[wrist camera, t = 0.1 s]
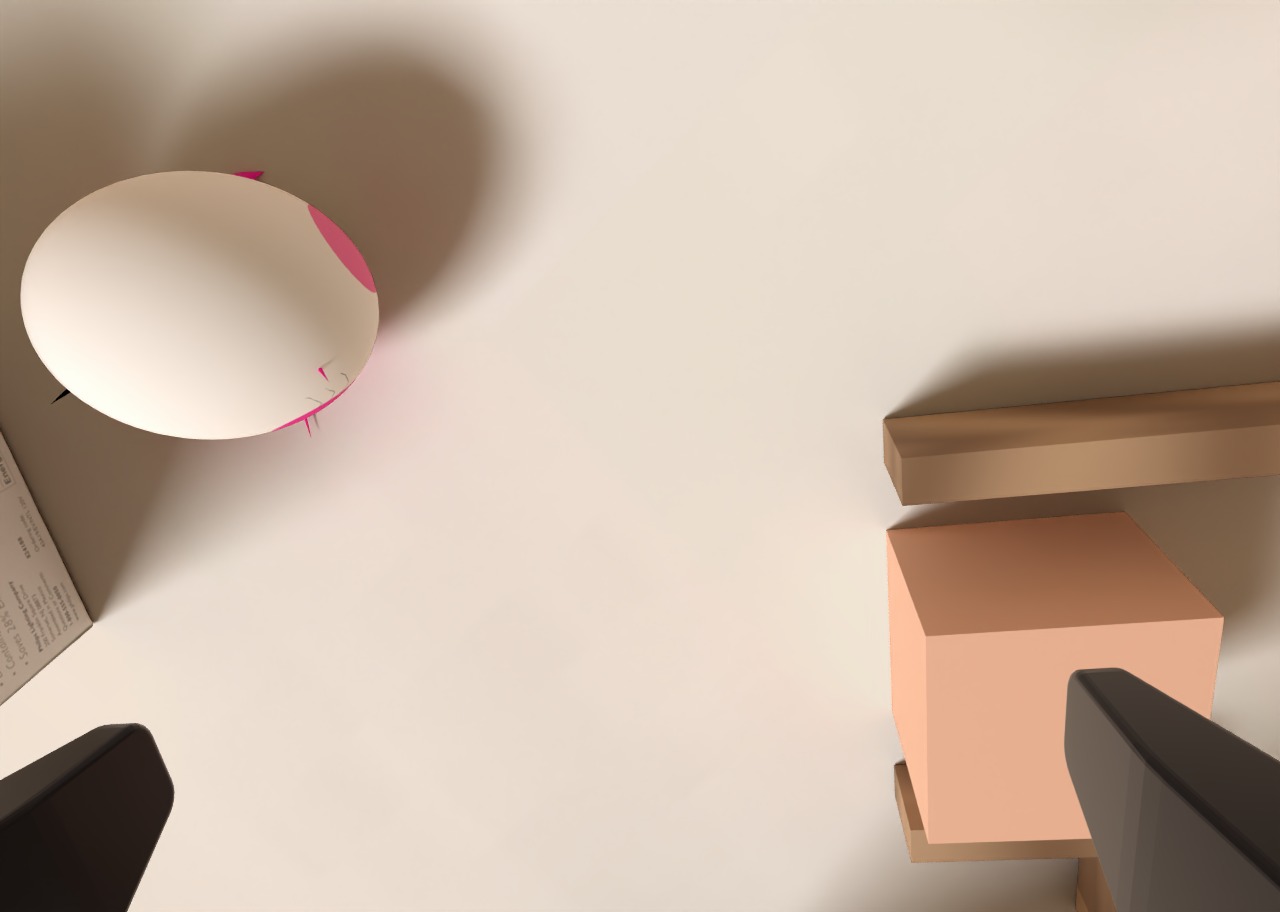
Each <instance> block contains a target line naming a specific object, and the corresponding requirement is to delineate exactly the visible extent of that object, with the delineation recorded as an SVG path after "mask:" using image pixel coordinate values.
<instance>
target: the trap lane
mask: <svg viewBox="0 0 1280 912" xmlns="http://www.w3.org/2000/svg"><path fill="white" fill-rule="evenodd" d="M883 440H884V463H885V466H886V468H887V470H888V473H889V475H890V477H891V480H892V482H893V484H894V487H895V489H896V491H897V494H898V496H899V498H900V501H901V503H902V505H903V506H907V505H919V504H931V503H943V502H956V501H968V500H980V499H992V498H1004V497H1016V496H1028V495H1040V494H1052V493H1064V492H1076V491H1089V490H1101V489H1113V488H1125V487H1137V486H1149V485H1161V484H1173V483H1185V482H1197V481H1210V480H1222V479H1234V478H1246V477H1258V476H1270V475H1280V381H1279V382H1268V383H1258V384H1247V385H1237V386H1226V387H1216V388H1205V389H1195V390H1184V391H1174V392H1163V393H1153V394H1143V395H1132V396H1122V397H1111V398H1101V399H1090V400H1080V401H1069V402H1059V403H1048V404H1038V405H1028V406H1017V407H1007V408H996V409H986V410H975V411H965V412H954V413H944V414H933V415H923V416H912V417H902V418H892V419H883ZM894 775H895V797H896V801H897V805H898V810H899V814H900V818H901V822H902V826H903V830H904V834H905V838H906V842H907V847H908V851H909V855H910V859H911V863H919V862H952V861H985V860H1018V859H1051V858H1079V866H1078V880H1077V893H1076V907H1075V909H1076V911H1077V912H1117V910H1116V907H1115V904H1114V901H1113V898H1112V896H1111V893H1110V890H1109V887H1108V884H1107V881H1106V878H1105V875H1104V872H1103V870H1102V867H1101V864H1100V861H1099V858H1098V855H1097V852H1096V849H1095V846H1094V844H1093V841H1092V839H1063V840H1033V841H1003V842H973V843H943V844H928V841H927V837H926V833H925V830H924V826H923V822H922V819H921V815H920V811H919V808H918V804H917V800H916V797H915V793H914V789H913V786H912V782H911V778H910V775H909V771H908V767H907V765H894Z"/></svg>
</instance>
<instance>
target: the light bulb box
mask: <svg viewBox="0 0 1280 912" xmlns="http://www.w3.org/2000/svg"><path fill="white" fill-rule="evenodd" d="M92 626H93V622H92V621H91V620H90V618H89V616H88V614H87V612H86V610H85V607H84V605H83V603H82V601H81V599H80V597H79V595H78V593H77V591H76V589H75V587H74V585H73V582H72V580H71V578H70V576H69V574H68V572H67V570H66V568H65V566H64V563H63V561H62V559H61V557H60V555H59V553H58V551H57V549H56V547H55V545H54V542H53V540H52V538H51V536H50V534H49V532H48V530H47V528H46V526H45V524H44V522H43V520H42V518H41V516H40V514H39V512H38V509H37V507H36V505H35V503H34V501H33V499H32V496H31V494H30V492H29V490H28V488H27V486H26V484H25V482H24V480H23V477H22V475H21V473H20V471H19V469H18V467H17V465H16V463H15V461H14V459H13V456H12V454H11V452H10V450H9V448H8V446H7V444H6V442H5V440H4V438H3V436H2V434H1V432H0V706H1V705H2V704H3V703H4V702H6V701H7V700H8V699H9V698H10V697H11V696H13V695H14V694H15V693H16V692H17V691H18V690H20V689H21V688H22V687H23V686H24V685H25V684H26V683H28V682H29V681H30V680H31V679H32V678H33V677H34V676H36V675H37V674H38V673H39V672H40V671H41V670H43V669H44V668H45V667H46V666H47V665H48V664H49V663H51V662H52V661H53V660H54V659H55V658H56V657H57V656H59V655H60V654H61V653H62V652H63V651H64V650H66V649H67V648H68V647H69V646H70V645H72V644H73V643H74V642H75V641H76V640H78V639H79V638H80V637H81V636H82V635H83V634H84V633H86V632H87V631H88V630H89V629H90V628H92Z"/></svg>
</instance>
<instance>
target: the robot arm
mask: <svg viewBox="0 0 1280 912" xmlns="http://www.w3.org/2000/svg"><path fill="white" fill-rule="evenodd" d="M1064 752H1065V759H1066V764H1067V768H1068V771H1069V774H1070V777H1071V780H1072V783H1073V786H1074V789H1075V792H1076V795H1077V797H1078V800H1079V803H1080V806H1081V809H1082V812H1083V815H1084V818H1085V821H1086V823H1087V826H1088V829H1089V832H1090V835H1091V838H1092V841H1093V844H1094V846H1095V849H1096V852H1097V855H1098V858H1099V861H1100V864H1101V867H1102V870H1103V872H1104V875H1105V878H1106V881H1107V884H1108V887H1109V890H1110V893H1111V896H1112V898H1113V901H1114V904H1115V907H1116V910H1117V912H1280V761H1278V760H1277V759H1275V758H1273V757H1272V756H1270V755H1268V754H1267V753H1265V752H1263V751H1261V750H1260V749H1258V748H1256V747H1255V746H1253V745H1251V744H1250V743H1248V742H1246V741H1245V740H1243V739H1241V738H1240V737H1238V736H1236V735H1234V734H1233V733H1231V732H1229V731H1228V730H1226V729H1224V728H1223V727H1221V726H1219V725H1218V724H1216V723H1214V722H1212V721H1211V720H1209V719H1207V718H1206V717H1204V716H1202V715H1201V714H1199V713H1197V712H1196V711H1194V710H1192V709H1191V708H1189V707H1187V706H1185V705H1184V704H1182V703H1180V702H1179V701H1177V700H1175V699H1174V698H1172V697H1170V696H1169V695H1167V694H1165V693H1163V692H1162V691H1160V690H1158V689H1157V688H1155V687H1153V686H1152V685H1150V684H1148V683H1147V682H1145V681H1143V680H1142V679H1140V678H1138V677H1136V676H1135V675H1133V674H1131V673H1130V672H1128V671H1126V670H1124V669H1121V668H1096V669H1079V670H1076V671H1075V672H1073V673H1072V674H1071V675H1070V678H1069V681H1068V685H1067V700H1066V716H1065V733H1064ZM173 802H174V785H173V782H172V779H171V777H170V775H169V772H168V770H167V768H166V766H165V763H164V761H163V759H162V756H161V754H160V752H159V749H158V747H157V745H156V743H155V740H154V738H153V736H152V734H151V732H150V731H149V730H148V729H147V728H146V727H145V726H144V725H141V724H138V723H128V724H110V725H104V726H100V727H97V728H95V729H93V730H91V731H89V732H88V733H86V734H84V735H82V736H80V737H79V738H77V739H75V740H73V741H71V742H69V743H68V744H66V745H64V746H62V747H60V748H58V749H57V750H55V751H53V752H51V753H49V754H47V755H46V756H44V757H42V758H40V759H38V760H36V761H35V762H33V763H31V764H29V765H27V766H25V767H24V768H22V769H20V770H18V771H16V772H15V773H13V774H11V775H9V776H7V777H5V778H4V779H2V780H0V912H127V911H128V908H129V906H130V904H131V902H132V899H133V897H134V895H135V892H136V890H137V888H138V886H139V883H140V881H141V879H142V876H143V874H144V872H145V870H146V867H147V865H148V863H149V860H150V858H151V856H152V854H153V851H154V849H155V847H156V844H157V842H158V840H159V838H160V835H161V833H162V831H163V828H164V826H165V824H166V822H167V819H168V817H169V815H170V812H171V810H172V807H173Z"/></svg>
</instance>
